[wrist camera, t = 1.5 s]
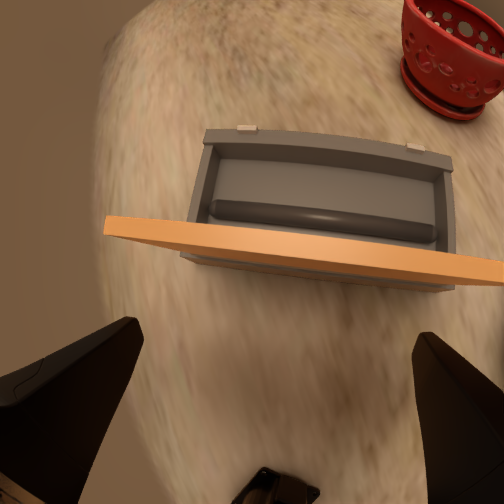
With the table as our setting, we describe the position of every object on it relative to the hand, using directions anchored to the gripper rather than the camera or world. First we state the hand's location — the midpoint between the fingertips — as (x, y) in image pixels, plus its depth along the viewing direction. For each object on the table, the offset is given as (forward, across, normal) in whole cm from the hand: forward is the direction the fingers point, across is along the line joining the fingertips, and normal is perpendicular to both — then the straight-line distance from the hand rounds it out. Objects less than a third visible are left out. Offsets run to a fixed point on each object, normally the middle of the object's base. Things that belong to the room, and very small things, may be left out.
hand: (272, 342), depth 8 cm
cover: (+7, -2, 0) cm, 8 cm away
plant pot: (+28, -18, -12) cm, 35 cm away
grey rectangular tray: (+18, -3, +2) cm, 18 cm away
